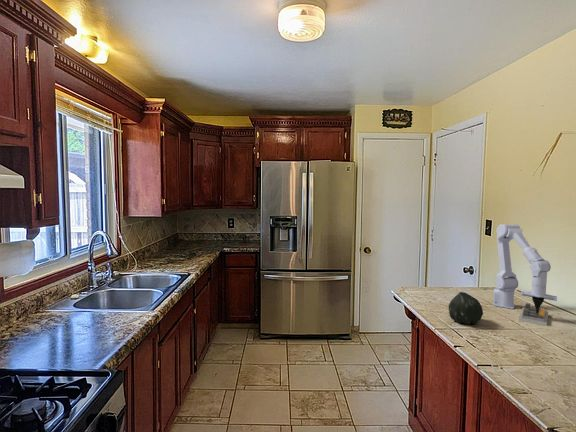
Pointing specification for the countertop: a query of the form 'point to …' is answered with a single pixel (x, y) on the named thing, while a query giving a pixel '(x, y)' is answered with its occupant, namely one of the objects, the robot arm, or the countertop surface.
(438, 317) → the countertop surface
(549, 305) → the countertop surface
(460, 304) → the squash
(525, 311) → the breaker
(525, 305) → the block
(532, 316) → the panel
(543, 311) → the block
